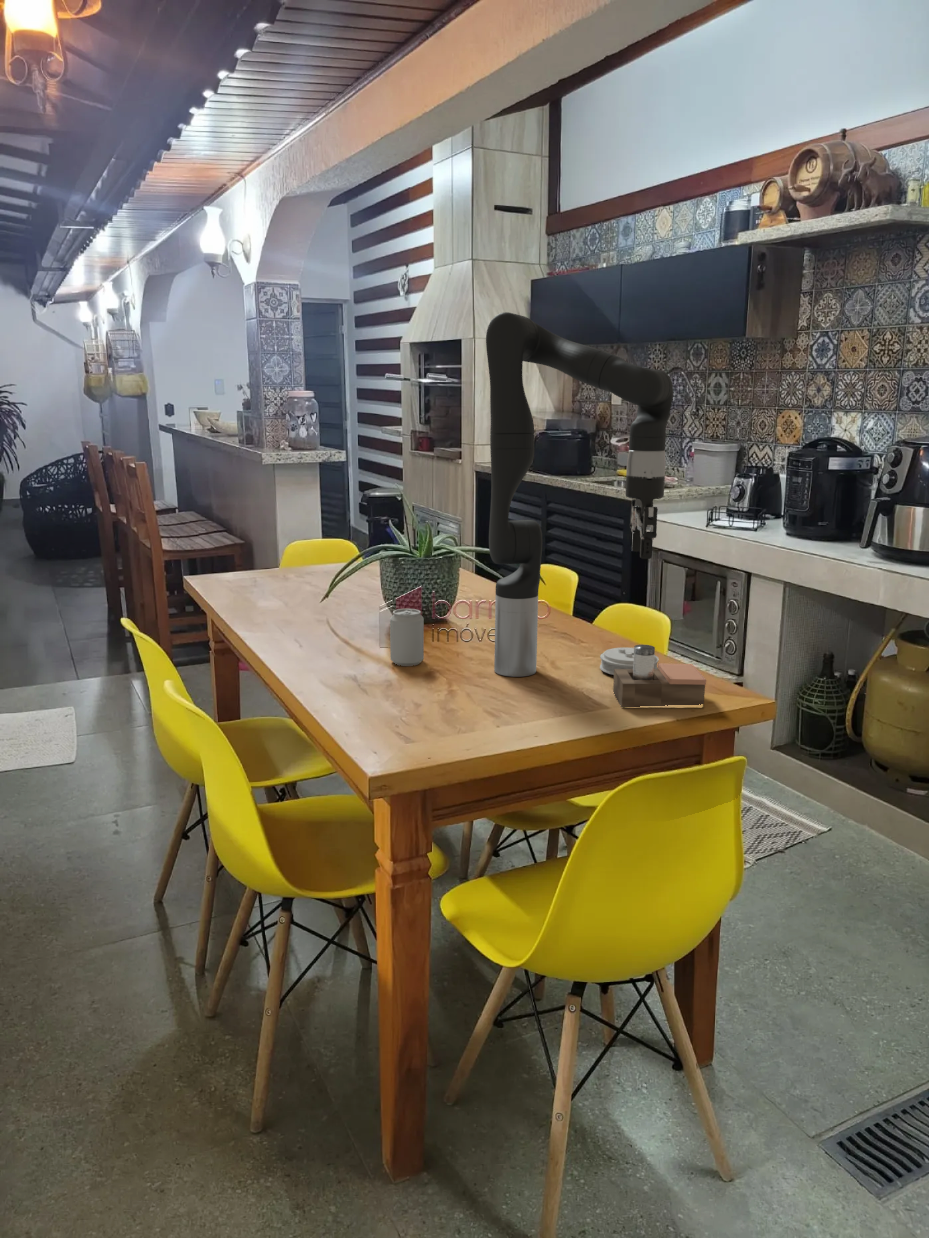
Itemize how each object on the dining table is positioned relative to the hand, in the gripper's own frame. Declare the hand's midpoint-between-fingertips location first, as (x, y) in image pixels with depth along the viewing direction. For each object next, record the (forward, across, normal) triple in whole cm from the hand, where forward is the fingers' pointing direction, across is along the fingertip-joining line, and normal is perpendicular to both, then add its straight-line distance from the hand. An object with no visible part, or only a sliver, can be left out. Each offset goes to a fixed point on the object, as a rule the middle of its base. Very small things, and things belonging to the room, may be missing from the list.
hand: (641, 554), depth 193 cm
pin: (+28, +8, 0) cm, 29 cm away
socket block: (+28, +8, +3) cm, 29 cm away
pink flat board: (+23, +8, +7) cm, 26 cm away
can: (+28, -19, -48) cm, 59 cm away
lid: (+29, -12, +1) cm, 31 cm away
